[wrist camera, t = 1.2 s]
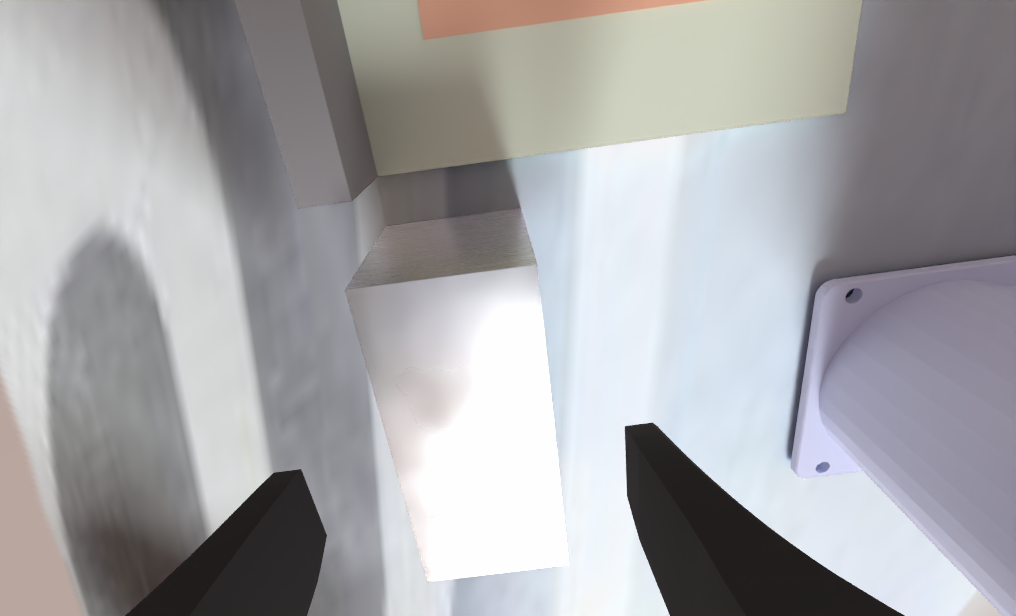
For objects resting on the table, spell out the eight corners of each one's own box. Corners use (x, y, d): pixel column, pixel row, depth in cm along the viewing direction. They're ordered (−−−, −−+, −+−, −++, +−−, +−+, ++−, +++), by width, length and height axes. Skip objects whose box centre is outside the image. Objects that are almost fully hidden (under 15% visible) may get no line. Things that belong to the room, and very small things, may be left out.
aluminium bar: (386, 224, 15) (345, 289, 10) (520, 207, 15) (537, 264, 10) (441, 459, 19) (428, 582, 14) (547, 445, 19) (568, 564, 14)
